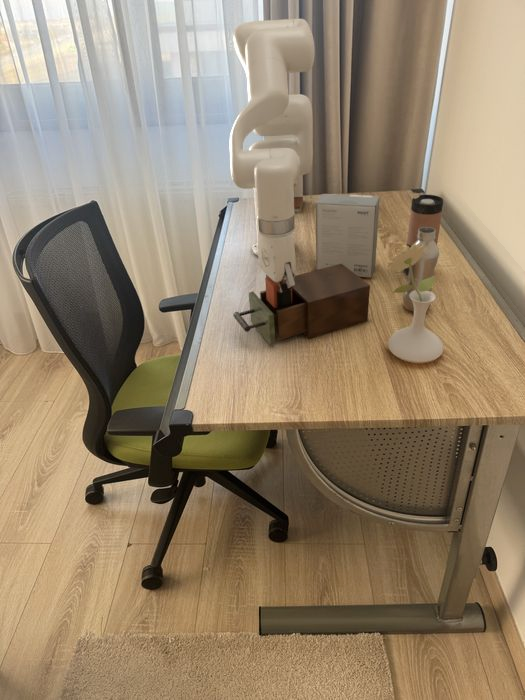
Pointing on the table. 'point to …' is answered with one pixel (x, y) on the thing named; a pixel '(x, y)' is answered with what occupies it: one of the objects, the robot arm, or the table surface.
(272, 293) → the block
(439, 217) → the travel mug
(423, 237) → the metal bottle
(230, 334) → the table surface
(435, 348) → the flower in vase
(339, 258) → the hard drive box
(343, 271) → the cabinet
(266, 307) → the drawer
